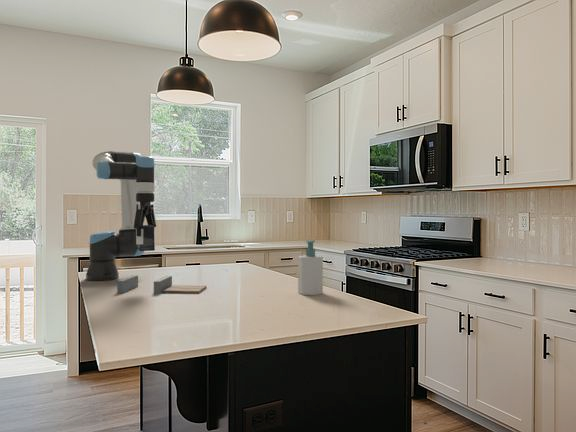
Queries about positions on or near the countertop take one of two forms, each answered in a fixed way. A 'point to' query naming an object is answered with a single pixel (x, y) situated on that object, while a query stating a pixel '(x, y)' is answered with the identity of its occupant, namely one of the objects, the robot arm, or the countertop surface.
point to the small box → (147, 239)
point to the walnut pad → (184, 289)
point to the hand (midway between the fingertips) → (145, 243)
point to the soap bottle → (310, 272)
